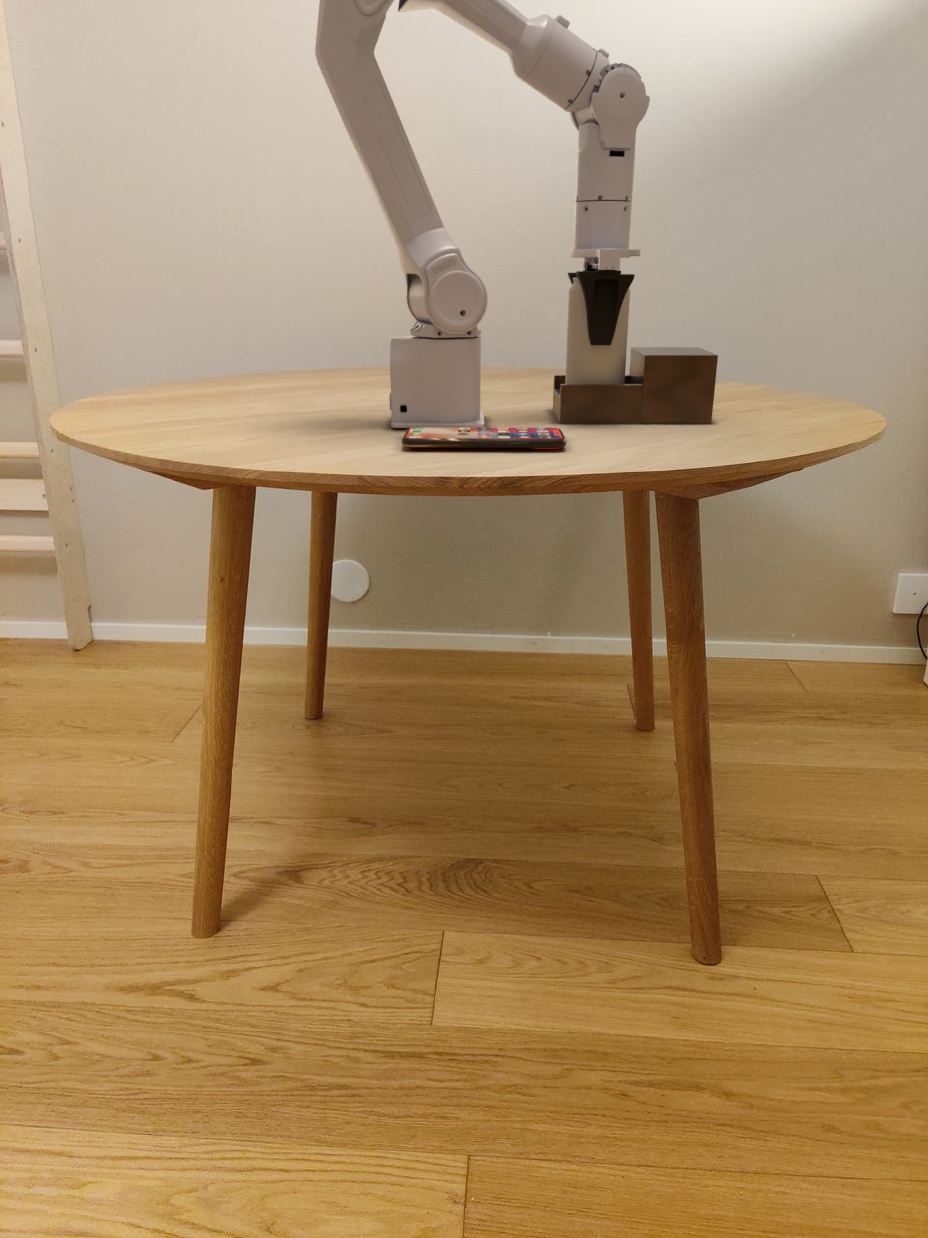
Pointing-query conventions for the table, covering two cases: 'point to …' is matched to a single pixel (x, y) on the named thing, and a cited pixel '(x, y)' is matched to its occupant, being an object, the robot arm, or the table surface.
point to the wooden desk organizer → (645, 391)
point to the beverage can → (594, 359)
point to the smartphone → (484, 437)
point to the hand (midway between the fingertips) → (595, 341)
